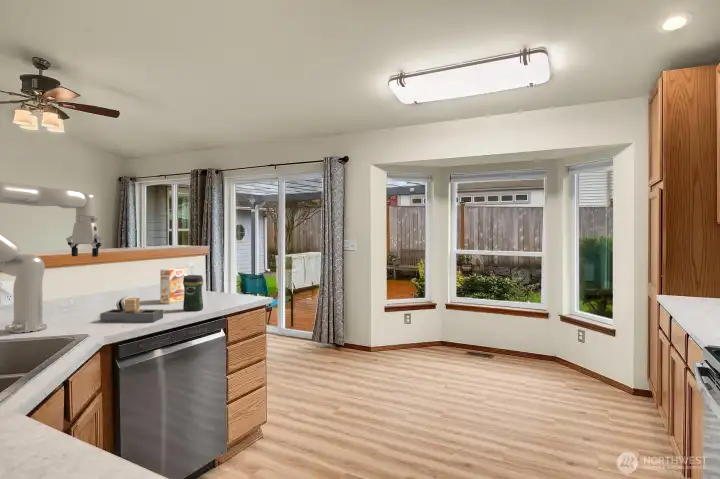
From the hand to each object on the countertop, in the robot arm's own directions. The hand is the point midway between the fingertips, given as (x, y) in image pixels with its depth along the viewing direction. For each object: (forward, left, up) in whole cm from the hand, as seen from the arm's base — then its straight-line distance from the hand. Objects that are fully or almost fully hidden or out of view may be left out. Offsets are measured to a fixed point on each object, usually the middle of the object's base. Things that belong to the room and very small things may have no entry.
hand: (84, 256), depth 197 cm
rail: (-2, -23, -30) cm, 37 cm away
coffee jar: (+23, -42, -30) cm, 57 cm away
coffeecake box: (+47, -22, -30) cm, 60 cm away
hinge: (+13, -14, -30) cm, 35 cm away
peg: (-2, -23, -30) cm, 37 cm away
